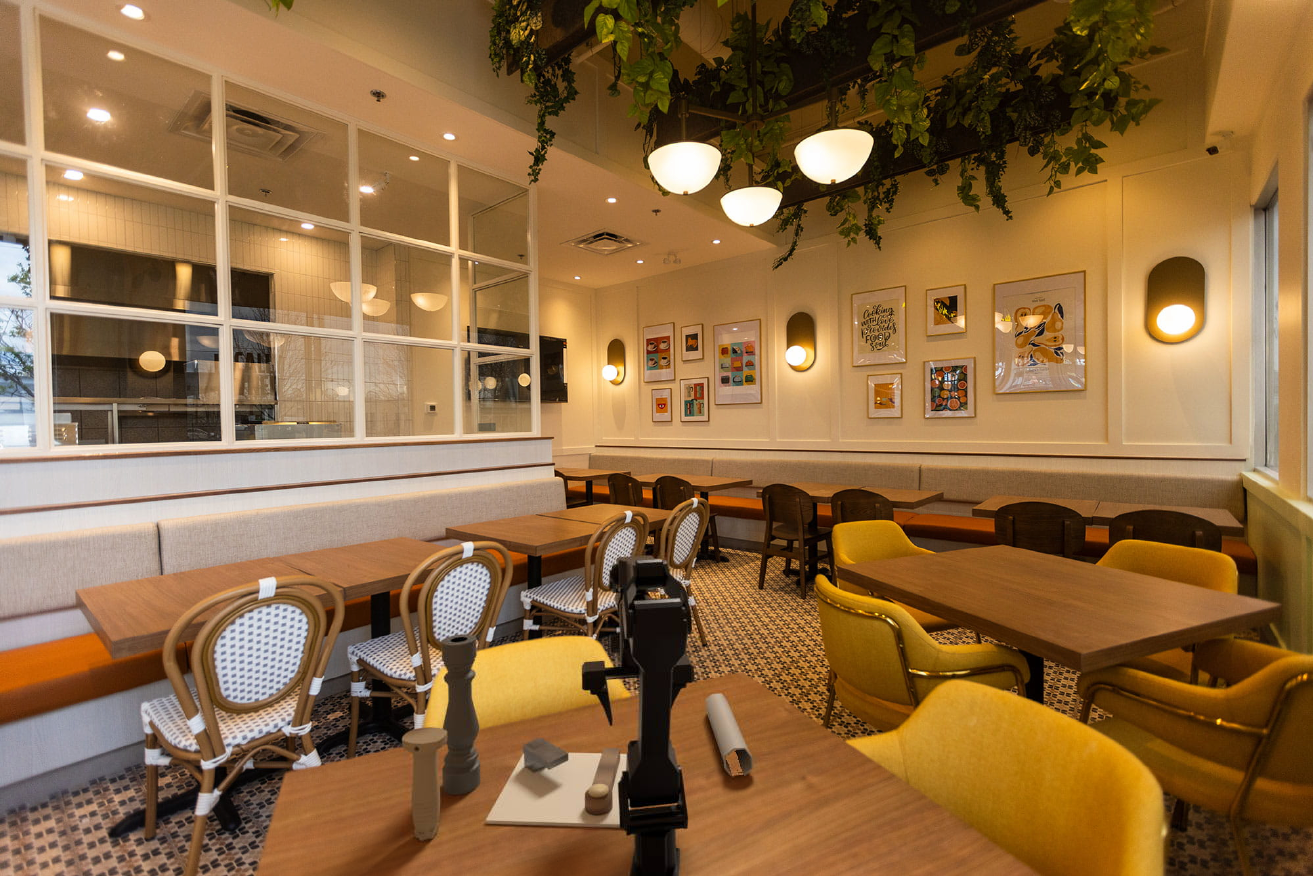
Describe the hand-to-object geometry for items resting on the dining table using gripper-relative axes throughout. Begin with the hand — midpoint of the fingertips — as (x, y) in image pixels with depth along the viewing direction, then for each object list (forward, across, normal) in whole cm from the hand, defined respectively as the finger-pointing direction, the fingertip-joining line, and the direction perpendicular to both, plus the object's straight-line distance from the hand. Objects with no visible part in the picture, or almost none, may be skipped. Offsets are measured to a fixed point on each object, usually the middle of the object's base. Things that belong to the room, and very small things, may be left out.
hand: (638, 722), depth 100 cm
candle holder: (+11, +30, -6) cm, 33 cm away
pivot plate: (+11, +12, -2) cm, 16 cm away
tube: (+11, -18, -13) cm, 25 cm away
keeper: (+10, +16, -7) cm, 20 cm away
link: (+10, +6, -1) cm, 12 cm away
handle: (+11, +33, +7) cm, 35 cm away
